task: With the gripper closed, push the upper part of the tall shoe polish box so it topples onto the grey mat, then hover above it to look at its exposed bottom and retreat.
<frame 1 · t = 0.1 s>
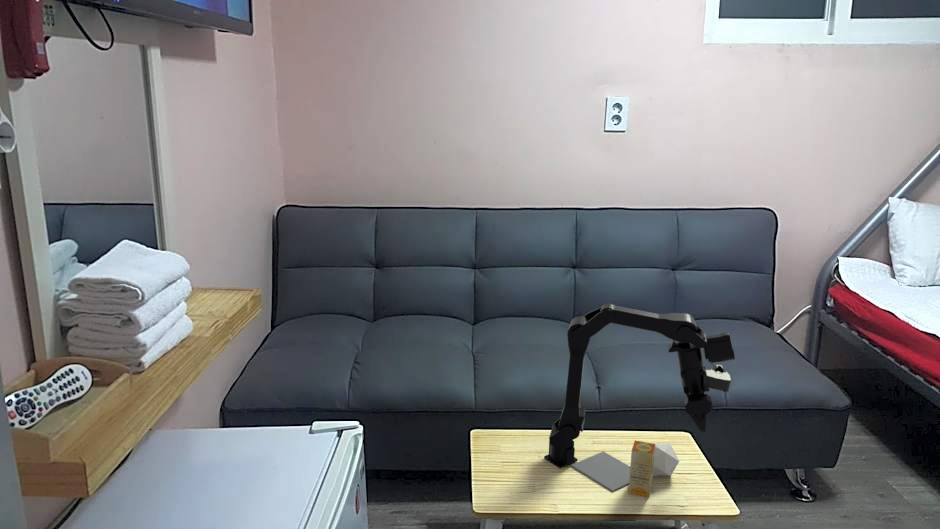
hand: (701, 422, 178), 15 cm above the table, tool pointing down, fingers open, 9 cm apart
die: (659, 473, 184), on the table
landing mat: (607, 471, 184), on the table
shoe polish box: (640, 491, 176), on the table
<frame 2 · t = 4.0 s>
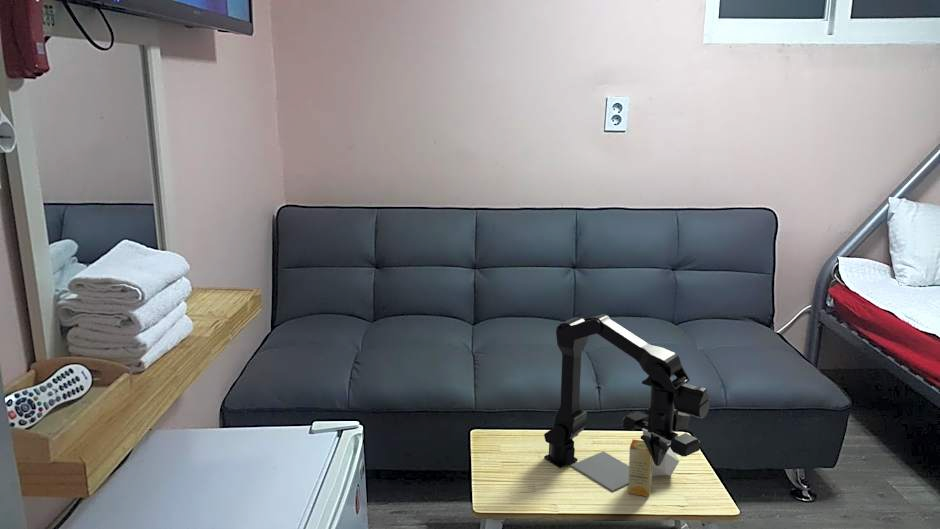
hand: (657, 465, 170), 9 cm above the table, tool pointing down, fingers closed
shoe polish box: (640, 490, 176), on the table, touching gripper
everything else where it was.
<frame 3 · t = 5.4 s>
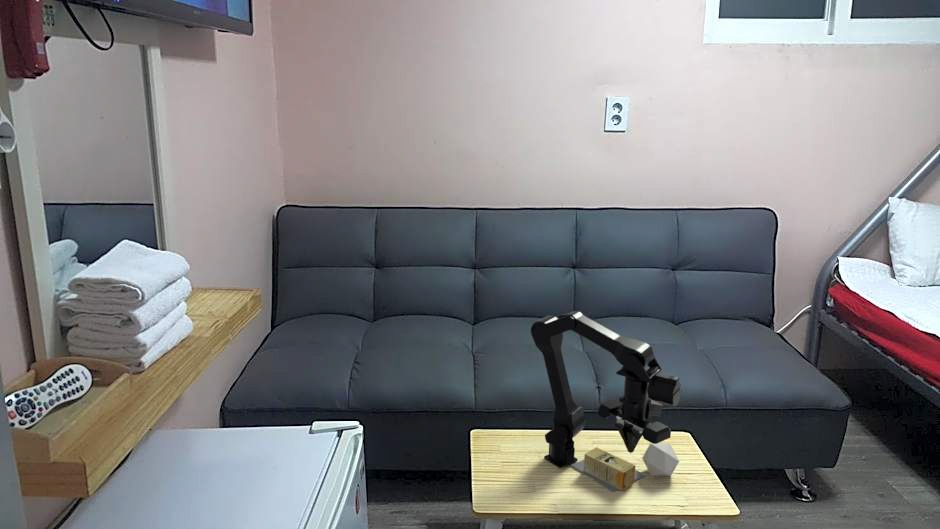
hand: (630, 451, 176), 9 cm above the table, tool pointing down, fingers closed
shoe polish box: (629, 478, 176), point 3 cm above the table, touching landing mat
everything else where it was.
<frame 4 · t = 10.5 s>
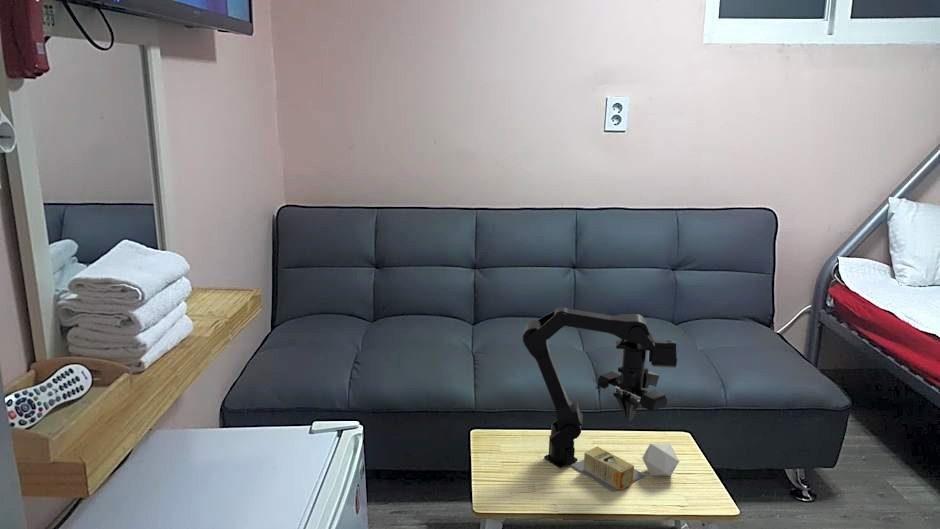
hand: (629, 420, 184), 13 cm above the table, tool pointing down, fingers closed
nothing on the table moved.
at the end: shoe polish box tilted 90°; shoe polish box touching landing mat; shoe polish box inside the target area (2.2 cm from its centre), point 2.9 cm above the table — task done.
